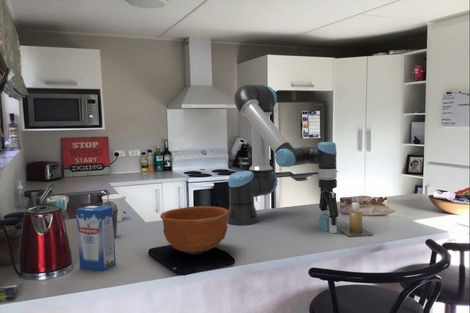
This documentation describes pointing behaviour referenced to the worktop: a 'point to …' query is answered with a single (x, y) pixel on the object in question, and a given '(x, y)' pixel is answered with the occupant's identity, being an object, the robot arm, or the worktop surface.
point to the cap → (325, 222)
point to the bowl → (195, 227)
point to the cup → (117, 203)
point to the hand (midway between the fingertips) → (328, 228)
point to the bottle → (355, 223)
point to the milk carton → (96, 237)
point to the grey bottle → (115, 212)
